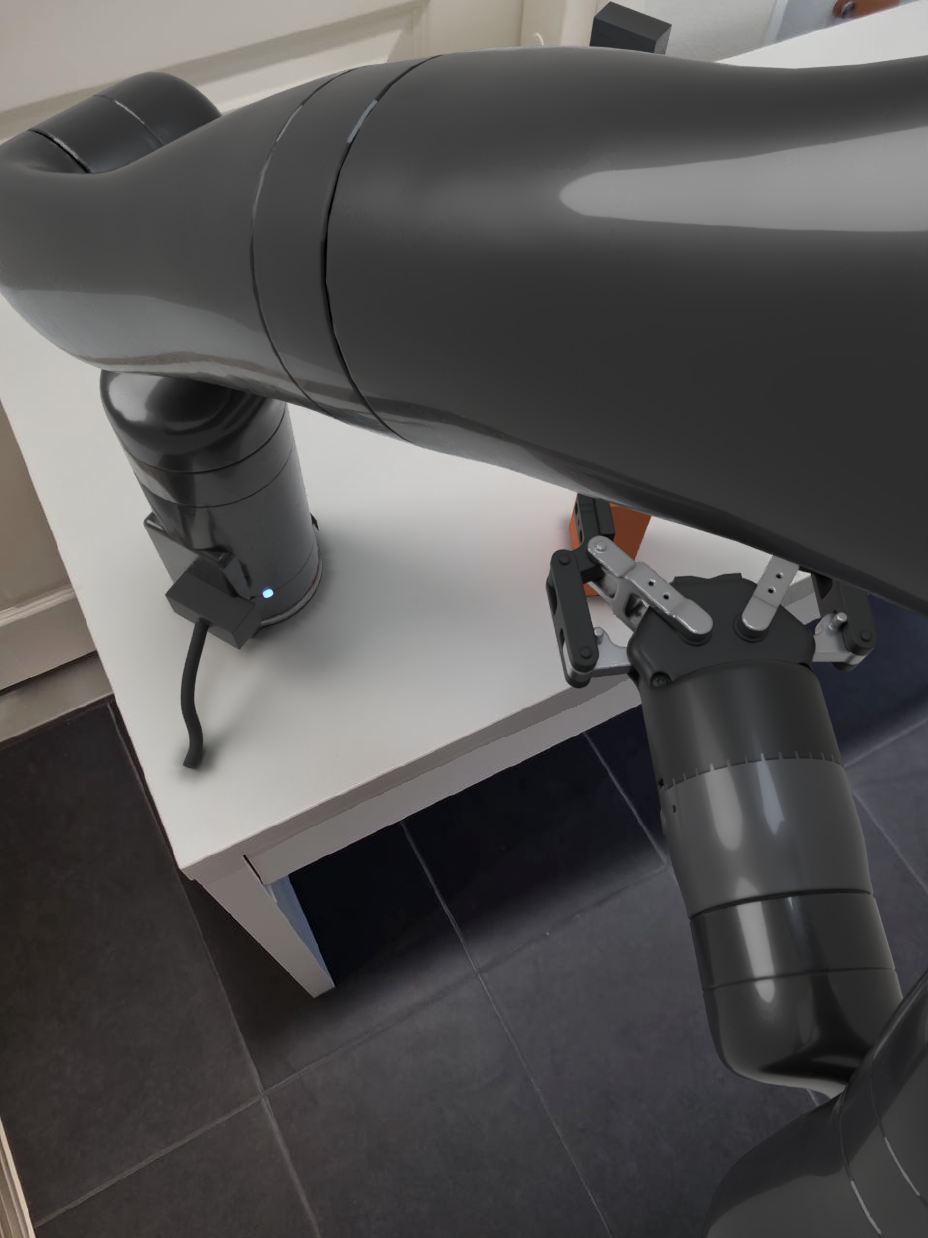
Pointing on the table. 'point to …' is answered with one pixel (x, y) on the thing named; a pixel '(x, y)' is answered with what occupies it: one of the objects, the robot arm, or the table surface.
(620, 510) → the orange block
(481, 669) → the table surface
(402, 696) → the table surface
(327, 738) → the table surface
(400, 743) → the table surface
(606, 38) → the cradle
